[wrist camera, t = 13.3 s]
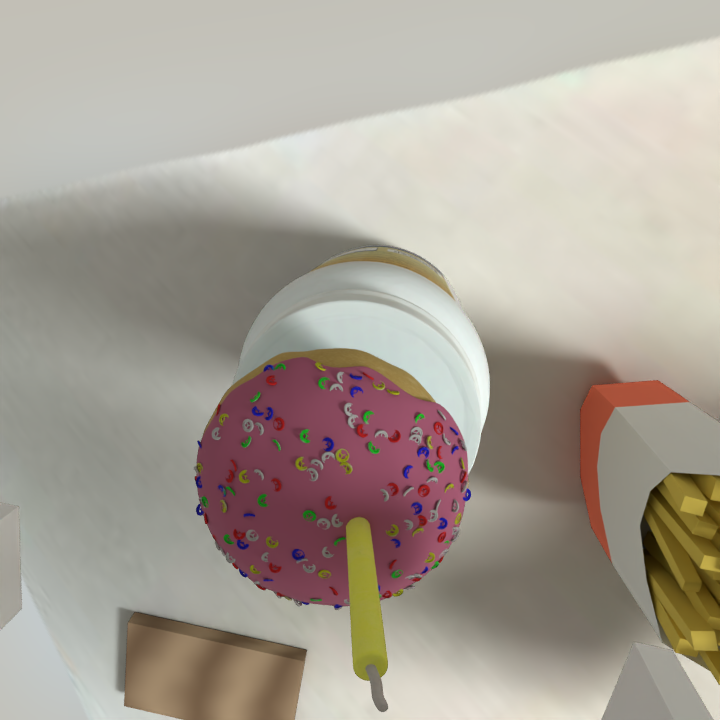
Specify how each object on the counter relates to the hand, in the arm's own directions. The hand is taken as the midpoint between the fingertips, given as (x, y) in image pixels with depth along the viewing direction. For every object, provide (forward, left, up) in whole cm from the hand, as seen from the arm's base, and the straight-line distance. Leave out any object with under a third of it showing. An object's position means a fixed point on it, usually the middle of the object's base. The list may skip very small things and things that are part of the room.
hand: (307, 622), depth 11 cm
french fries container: (-18, +5, -27) cm, 33 cm away
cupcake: (0, 0, -10) cm, 10 cm away
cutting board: (+9, +35, -27) cm, 45 cm away
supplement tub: (0, 0, -27) cm, 27 cm away
